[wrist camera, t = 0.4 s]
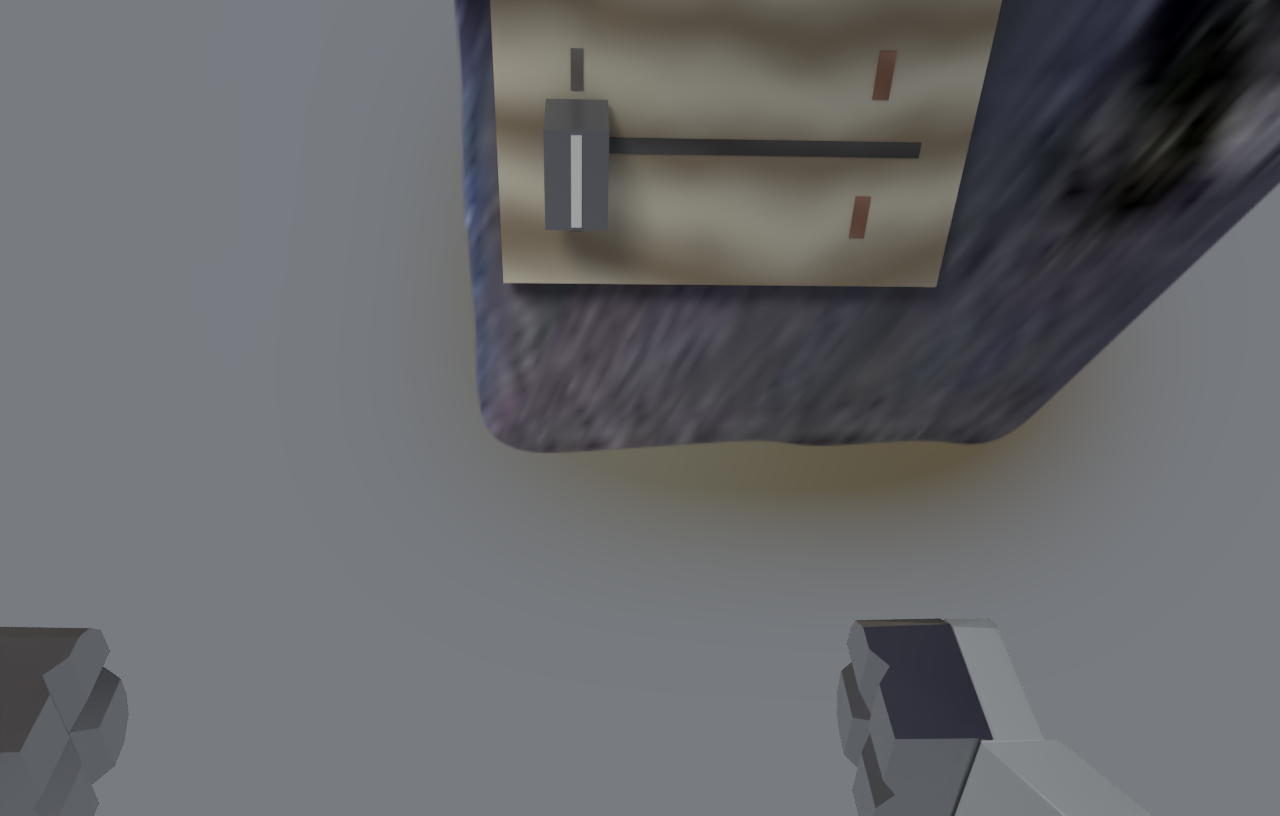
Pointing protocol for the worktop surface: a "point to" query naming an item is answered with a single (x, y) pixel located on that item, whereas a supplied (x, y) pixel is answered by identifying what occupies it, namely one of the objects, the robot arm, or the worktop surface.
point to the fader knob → (576, 164)
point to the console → (744, 136)
